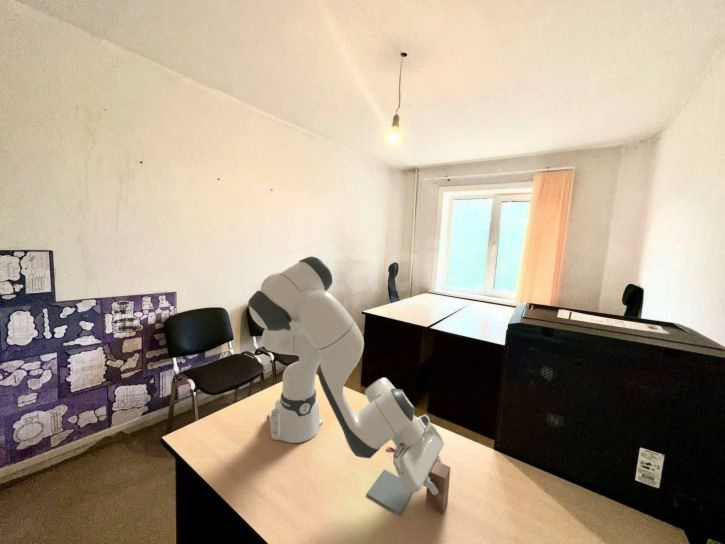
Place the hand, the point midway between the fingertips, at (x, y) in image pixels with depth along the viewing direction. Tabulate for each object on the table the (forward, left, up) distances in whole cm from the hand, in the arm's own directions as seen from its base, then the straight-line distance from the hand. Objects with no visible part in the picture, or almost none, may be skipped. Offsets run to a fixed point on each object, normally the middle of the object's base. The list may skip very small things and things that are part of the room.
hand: (440, 484), depth 75 cm
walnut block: (-1, 0, -6) cm, 6 cm away
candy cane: (-16, +4, -7) cm, 18 cm away
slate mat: (-10, -8, -6) cm, 14 cm away
